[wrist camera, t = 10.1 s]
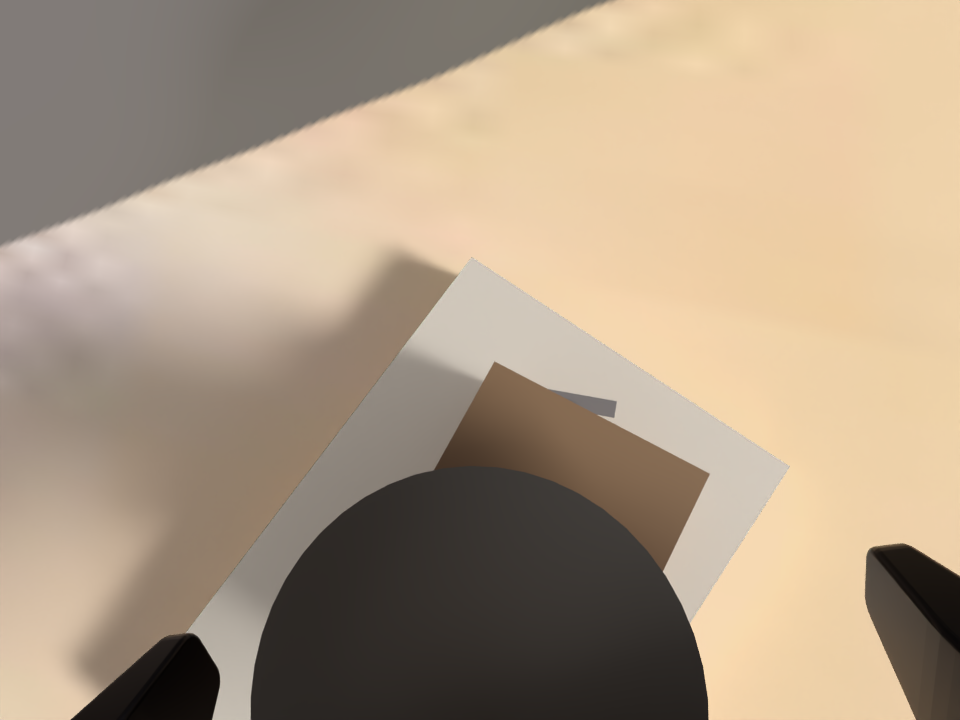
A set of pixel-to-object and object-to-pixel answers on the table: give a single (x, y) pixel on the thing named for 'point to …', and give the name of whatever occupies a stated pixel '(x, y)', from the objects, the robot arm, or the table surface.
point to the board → (432, 423)
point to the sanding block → (497, 581)
